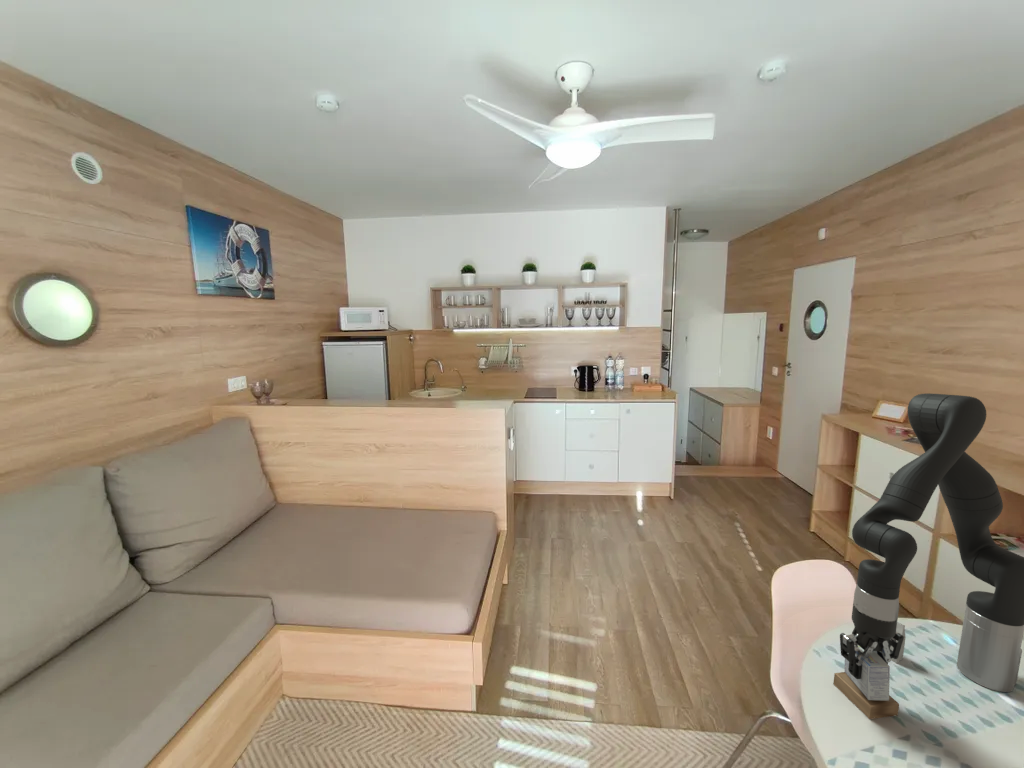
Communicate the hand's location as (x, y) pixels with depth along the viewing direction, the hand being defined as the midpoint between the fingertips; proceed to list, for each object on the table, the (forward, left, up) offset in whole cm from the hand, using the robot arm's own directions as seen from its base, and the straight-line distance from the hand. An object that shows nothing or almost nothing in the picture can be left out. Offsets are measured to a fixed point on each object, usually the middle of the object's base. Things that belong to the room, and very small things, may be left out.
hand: (867, 674), depth 94 cm
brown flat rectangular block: (0, 0, -7) cm, 7 cm away
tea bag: (-18, -12, -7) cm, 23 cm away
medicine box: (0, 0, -3) cm, 3 cm away
